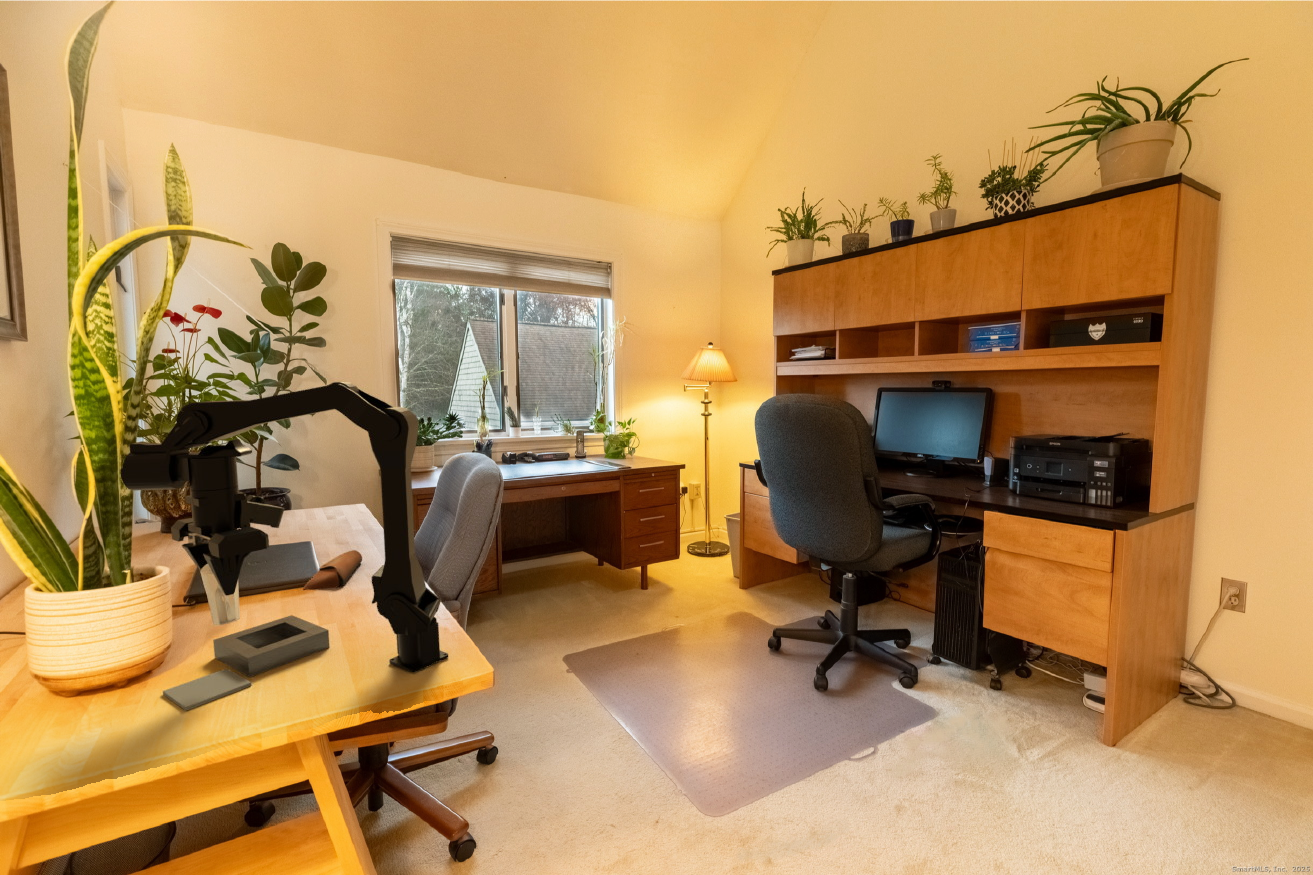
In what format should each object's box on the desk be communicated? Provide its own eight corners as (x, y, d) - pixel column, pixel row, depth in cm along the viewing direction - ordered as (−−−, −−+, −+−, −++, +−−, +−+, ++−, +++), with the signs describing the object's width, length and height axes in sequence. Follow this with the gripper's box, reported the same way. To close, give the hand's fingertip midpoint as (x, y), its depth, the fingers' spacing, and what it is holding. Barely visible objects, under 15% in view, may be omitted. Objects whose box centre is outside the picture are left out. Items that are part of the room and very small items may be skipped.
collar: (329, 647, 101) (328, 629, 101) (249, 677, 91) (247, 658, 91) (293, 631, 108) (291, 615, 108) (214, 657, 98) (213, 639, 98)
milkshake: (230, 627, 88) (221, 558, 87) (199, 627, 89) (190, 559, 88) (256, 615, 92) (248, 550, 92) (227, 615, 93) (219, 551, 93)
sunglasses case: (324, 565, 146) (338, 540, 146) (352, 577, 148) (366, 553, 148) (300, 590, 129) (316, 563, 129) (333, 604, 131) (349, 576, 131)
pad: (251, 685, 89) (251, 682, 89) (185, 710, 82) (185, 707, 82) (227, 671, 93) (226, 668, 93) (163, 694, 87) (162, 690, 87)
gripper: (303, 485, 90) (310, 587, 92) (248, 474, 101) (255, 566, 102) (215, 497, 81) (225, 611, 83) (165, 484, 92) (175, 585, 93)
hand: (223, 591), depth 91 cm, fingers closed on milkshake, 4 cm apart
